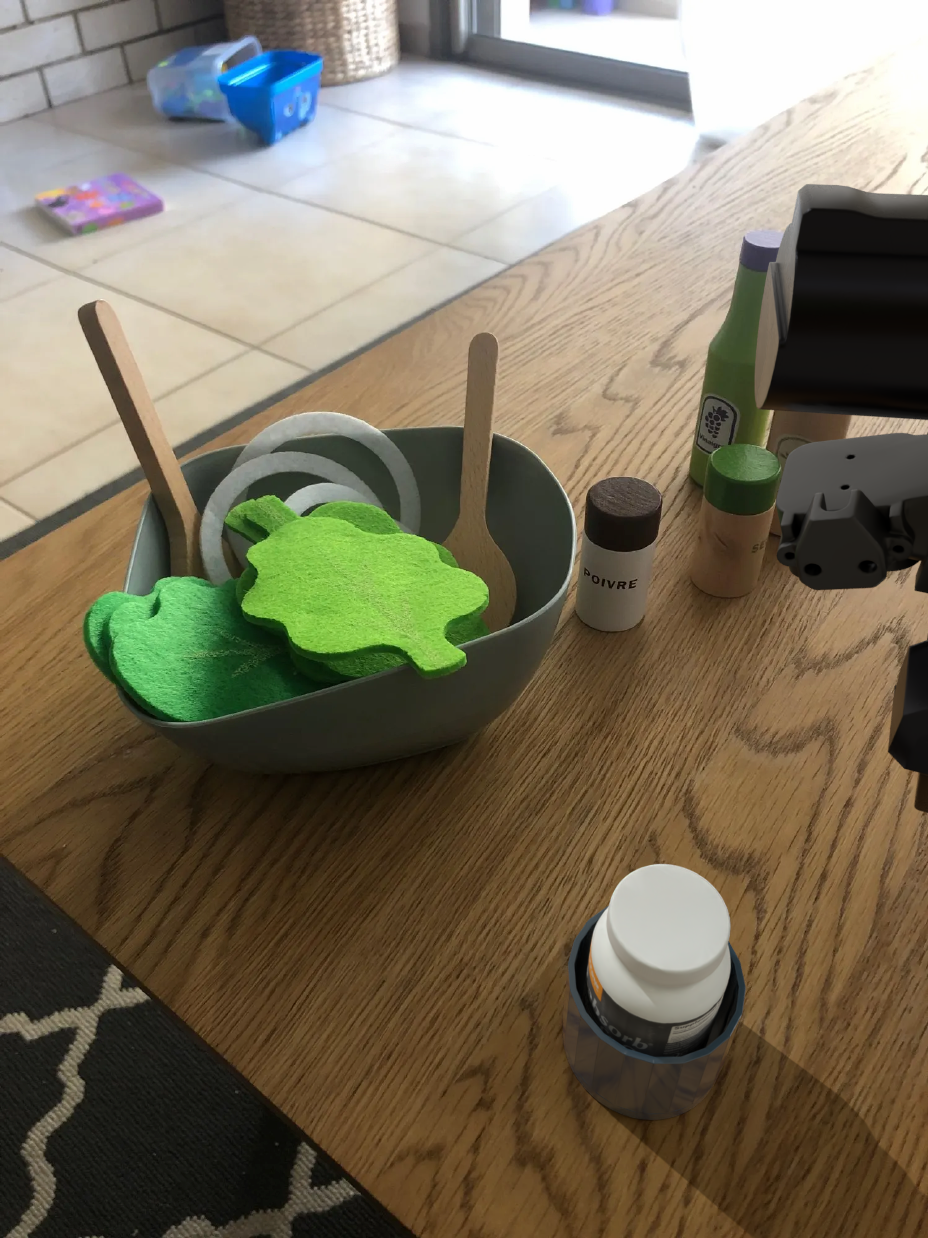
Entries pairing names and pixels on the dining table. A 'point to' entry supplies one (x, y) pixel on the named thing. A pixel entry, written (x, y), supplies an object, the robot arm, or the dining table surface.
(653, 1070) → the pot
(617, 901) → the pill bottle
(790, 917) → the dining table surface
